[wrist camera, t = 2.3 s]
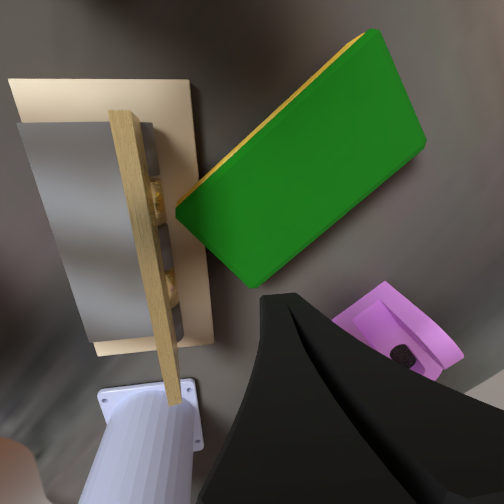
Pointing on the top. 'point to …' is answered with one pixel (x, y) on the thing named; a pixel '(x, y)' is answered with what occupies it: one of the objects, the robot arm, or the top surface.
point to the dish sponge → (306, 163)
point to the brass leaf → (149, 242)
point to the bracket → (399, 330)
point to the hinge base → (115, 201)
